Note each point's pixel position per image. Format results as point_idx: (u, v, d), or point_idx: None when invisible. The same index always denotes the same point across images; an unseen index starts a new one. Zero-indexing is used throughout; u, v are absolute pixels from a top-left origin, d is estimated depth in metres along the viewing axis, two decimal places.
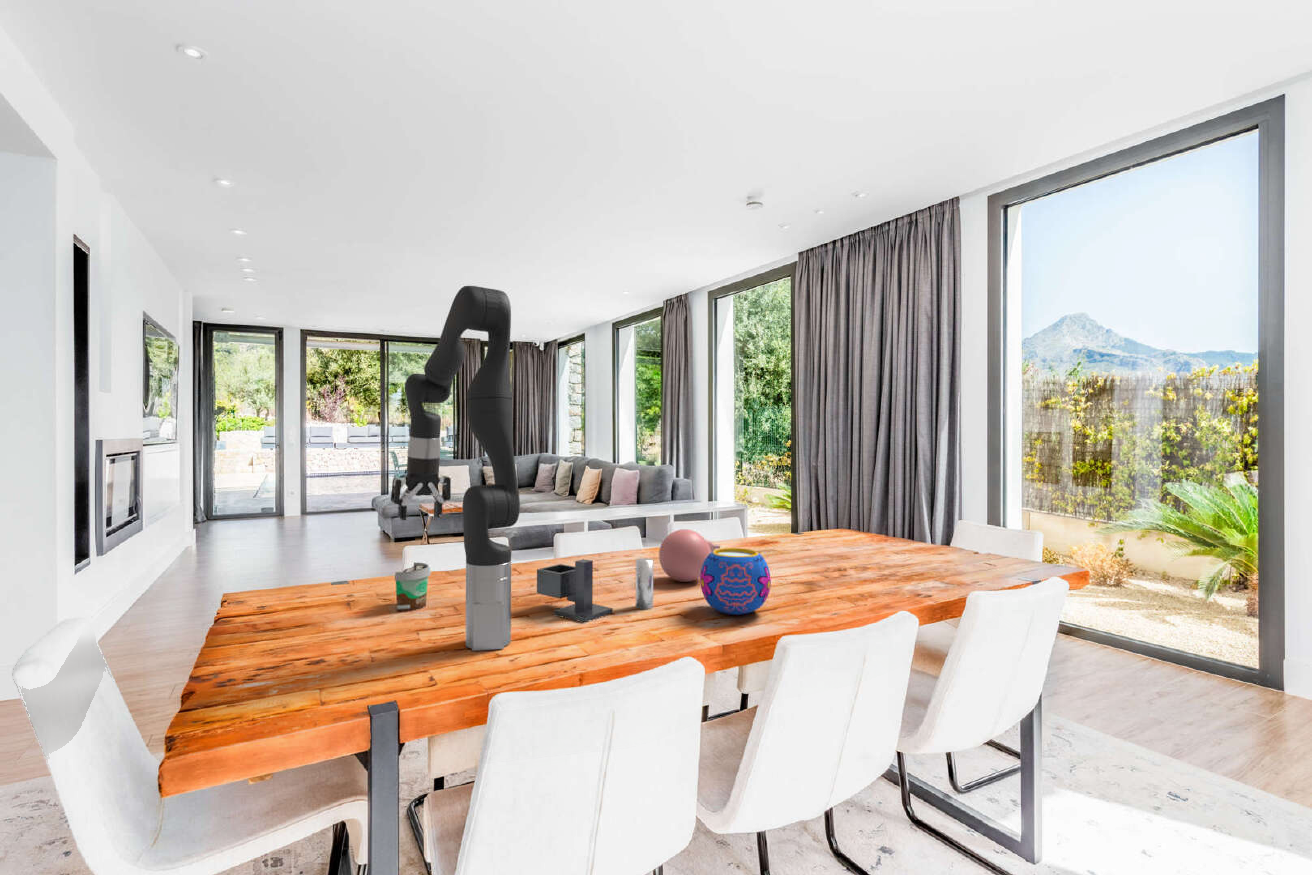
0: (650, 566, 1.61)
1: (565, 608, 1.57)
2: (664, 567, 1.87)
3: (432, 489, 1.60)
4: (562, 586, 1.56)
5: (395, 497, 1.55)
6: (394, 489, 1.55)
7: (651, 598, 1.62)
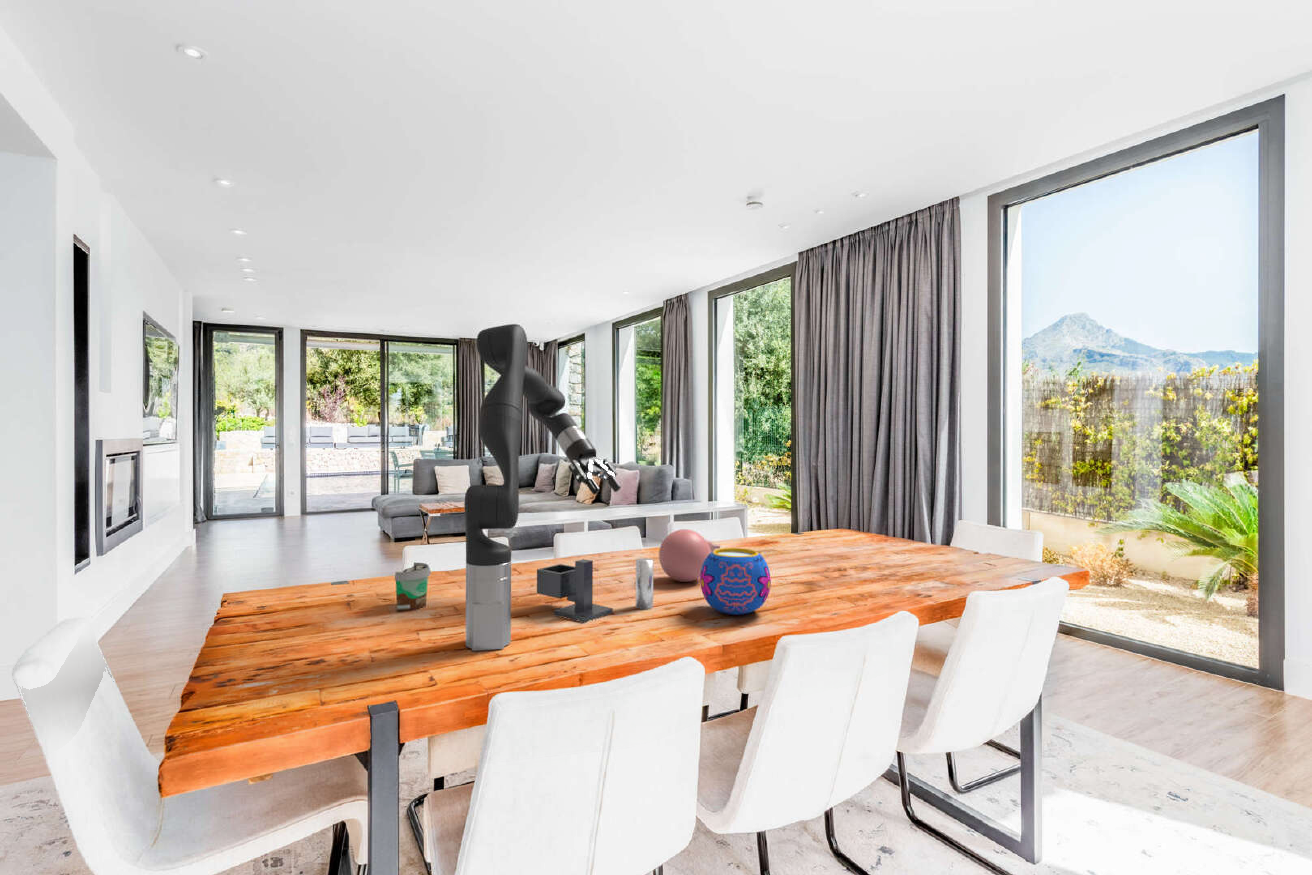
0: (650, 566, 1.61)
1: (565, 608, 1.57)
2: (664, 567, 1.87)
3: (601, 464, 1.74)
4: (562, 586, 1.56)
5: (580, 472, 1.66)
6: (575, 469, 1.67)
7: (651, 598, 1.62)
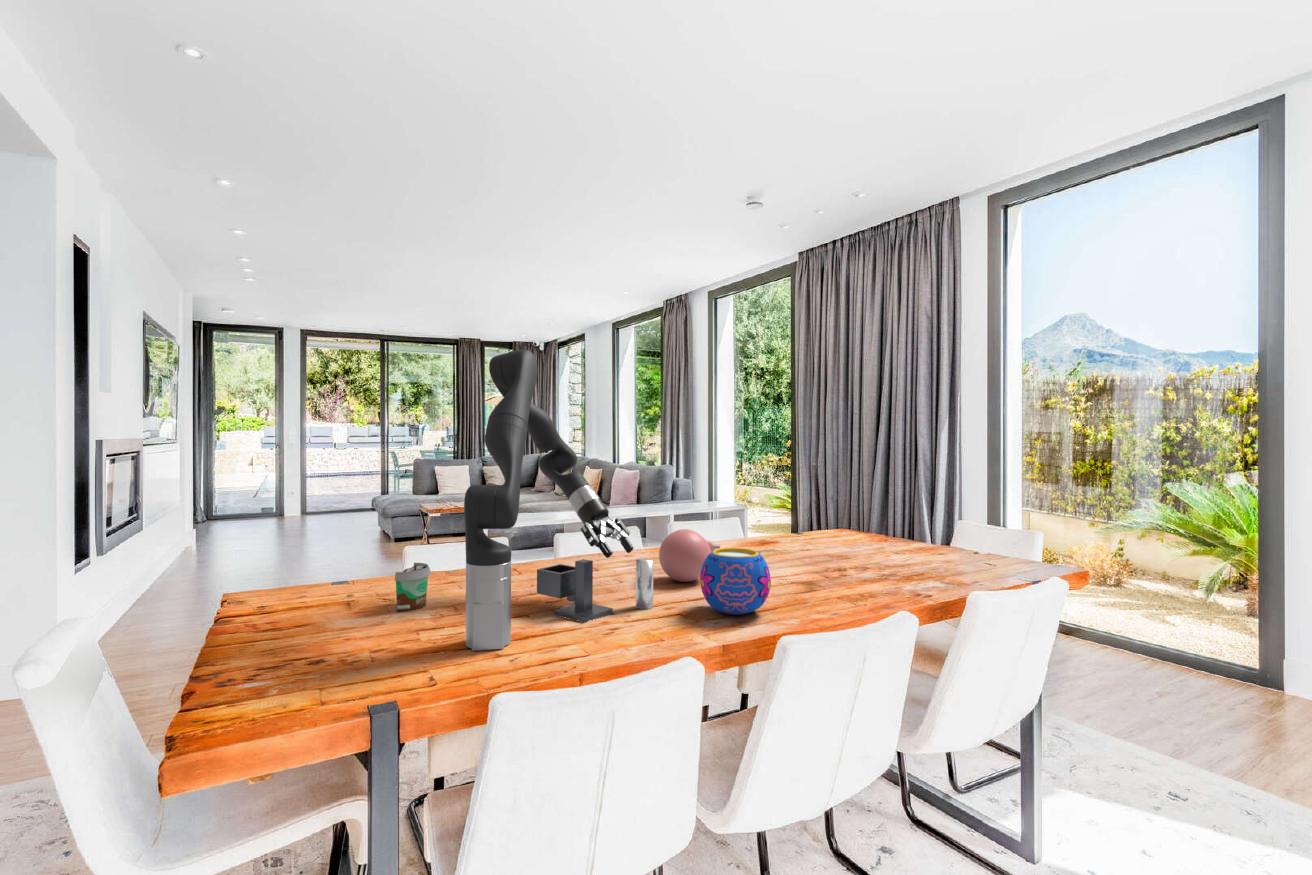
0: (650, 566, 1.61)
1: (565, 608, 1.57)
2: (664, 567, 1.87)
3: (613, 525, 1.72)
4: (562, 586, 1.56)
5: (593, 535, 1.64)
6: (588, 532, 1.65)
7: (651, 598, 1.62)
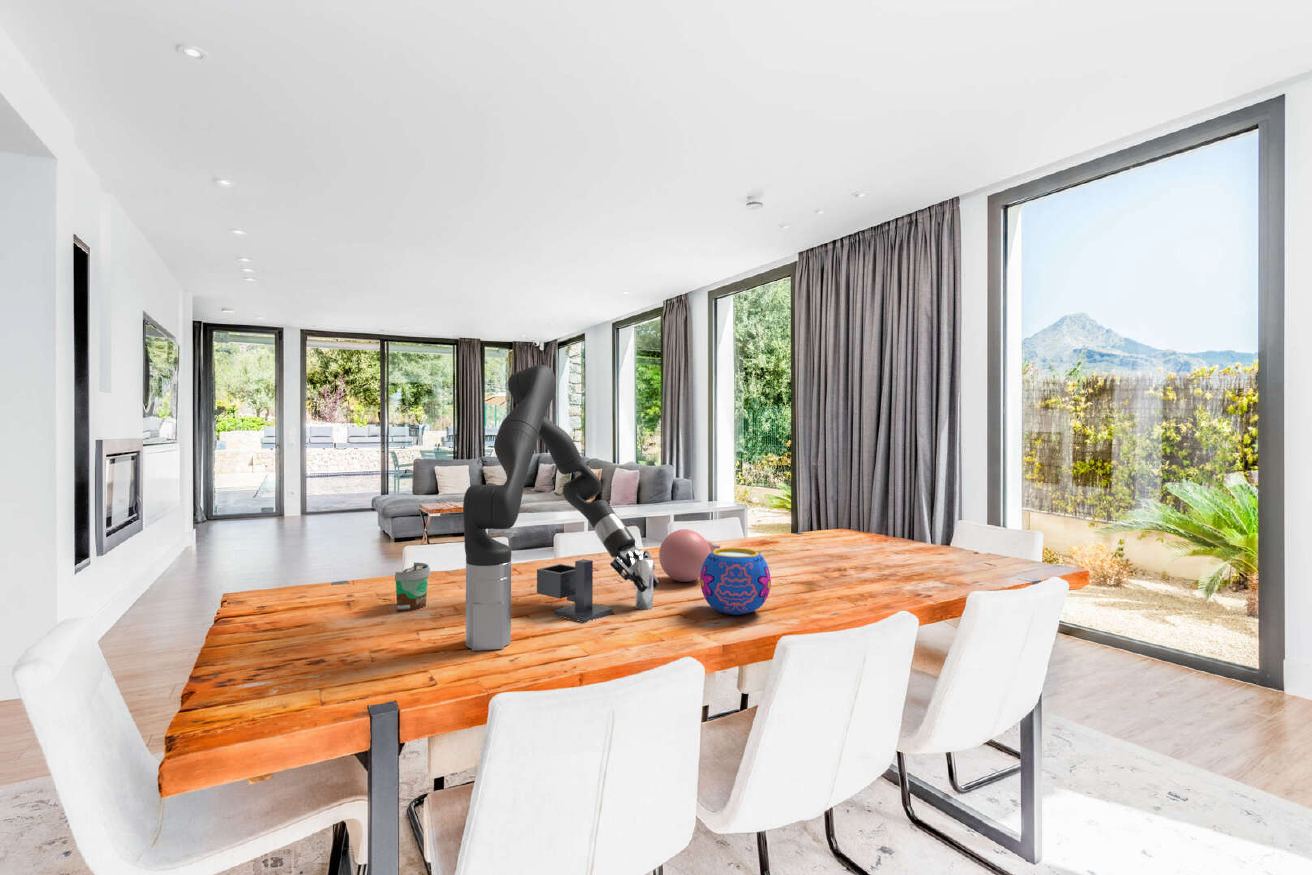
0: (650, 566, 1.61)
1: (565, 608, 1.57)
2: (664, 567, 1.87)
3: (639, 556, 1.66)
4: (562, 586, 1.56)
5: (627, 570, 1.59)
6: (620, 567, 1.60)
7: (651, 598, 1.62)
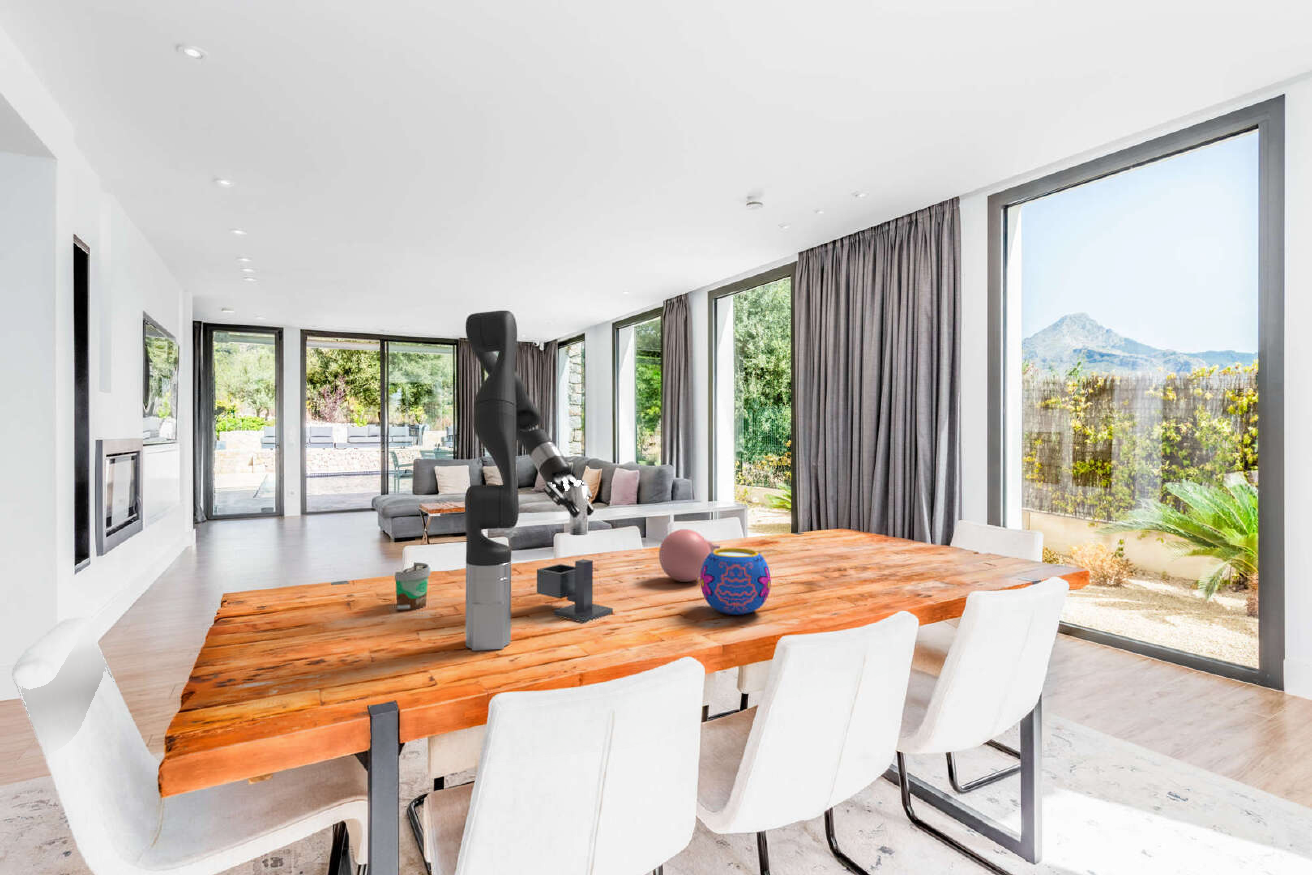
0: (584, 491, 1.59)
1: (565, 608, 1.57)
2: (664, 567, 1.87)
3: (575, 484, 1.64)
4: (562, 586, 1.56)
5: (559, 495, 1.57)
6: (552, 491, 1.58)
7: (585, 524, 1.60)
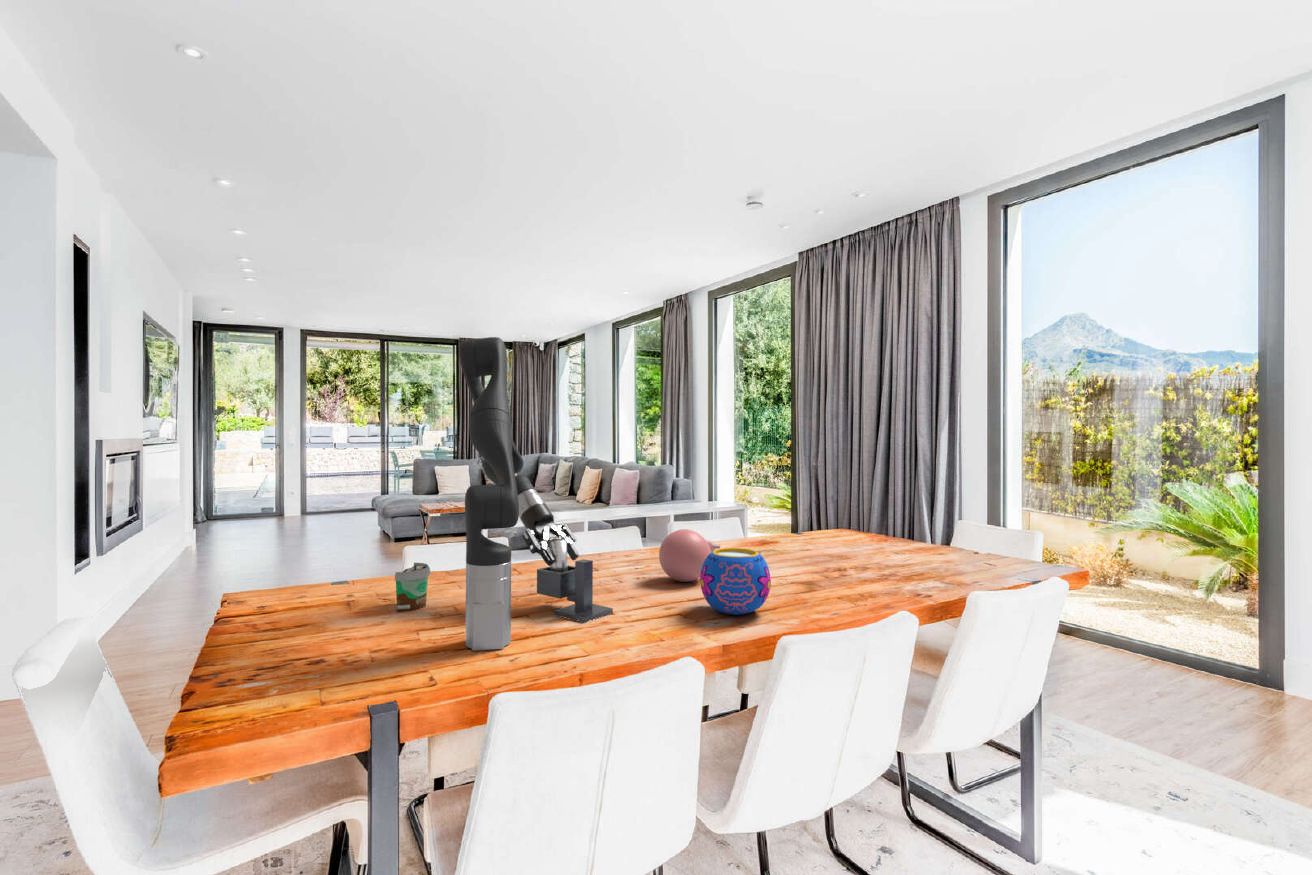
0: (563, 546, 1.59)
1: (565, 608, 1.57)
2: (664, 567, 1.87)
3: (558, 531, 1.64)
4: (562, 586, 1.56)
5: (534, 542, 1.57)
6: (529, 538, 1.58)
7: None
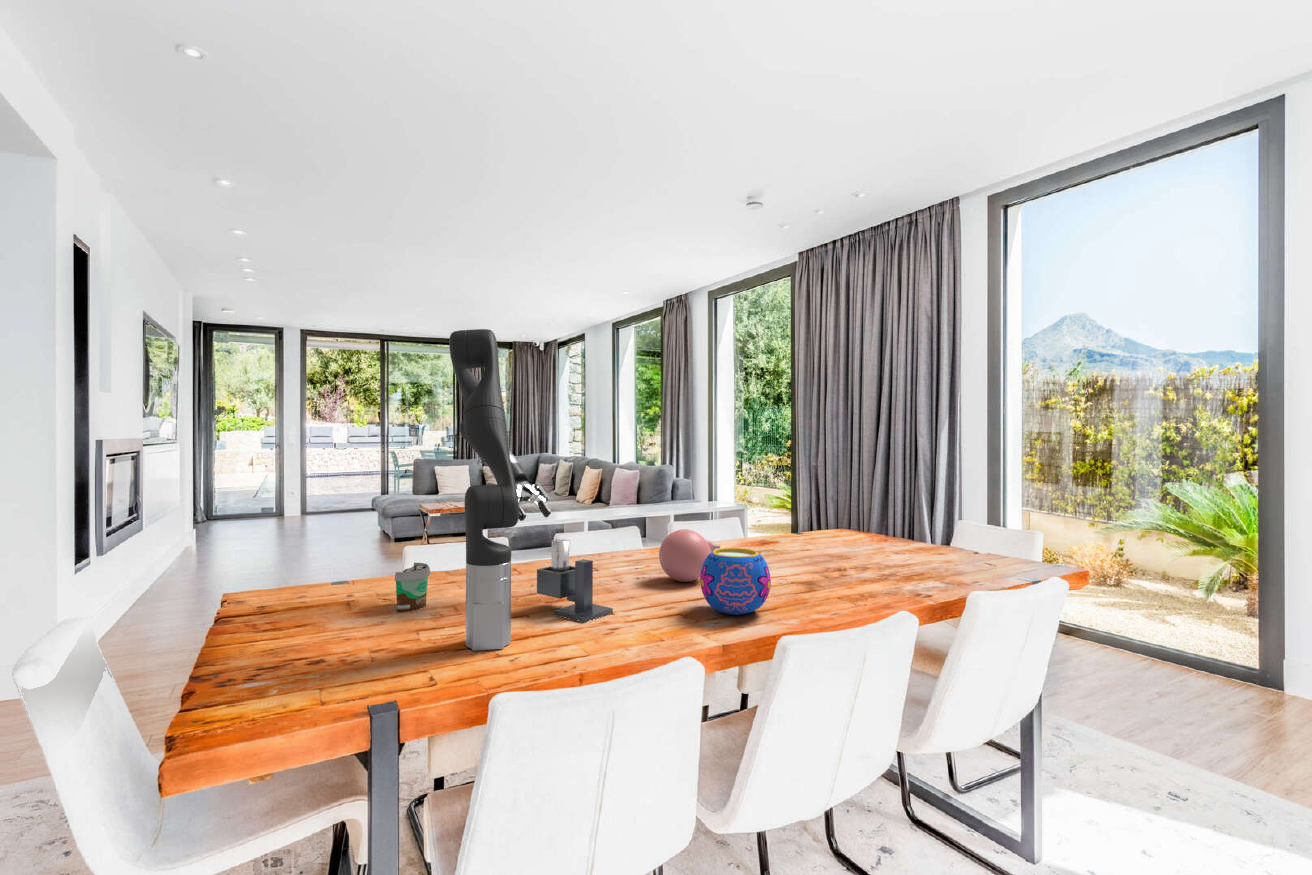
0: (565, 546, 1.59)
1: (565, 608, 1.57)
2: (664, 567, 1.87)
3: (531, 489, 1.70)
4: (562, 586, 1.56)
5: None
6: None
7: None
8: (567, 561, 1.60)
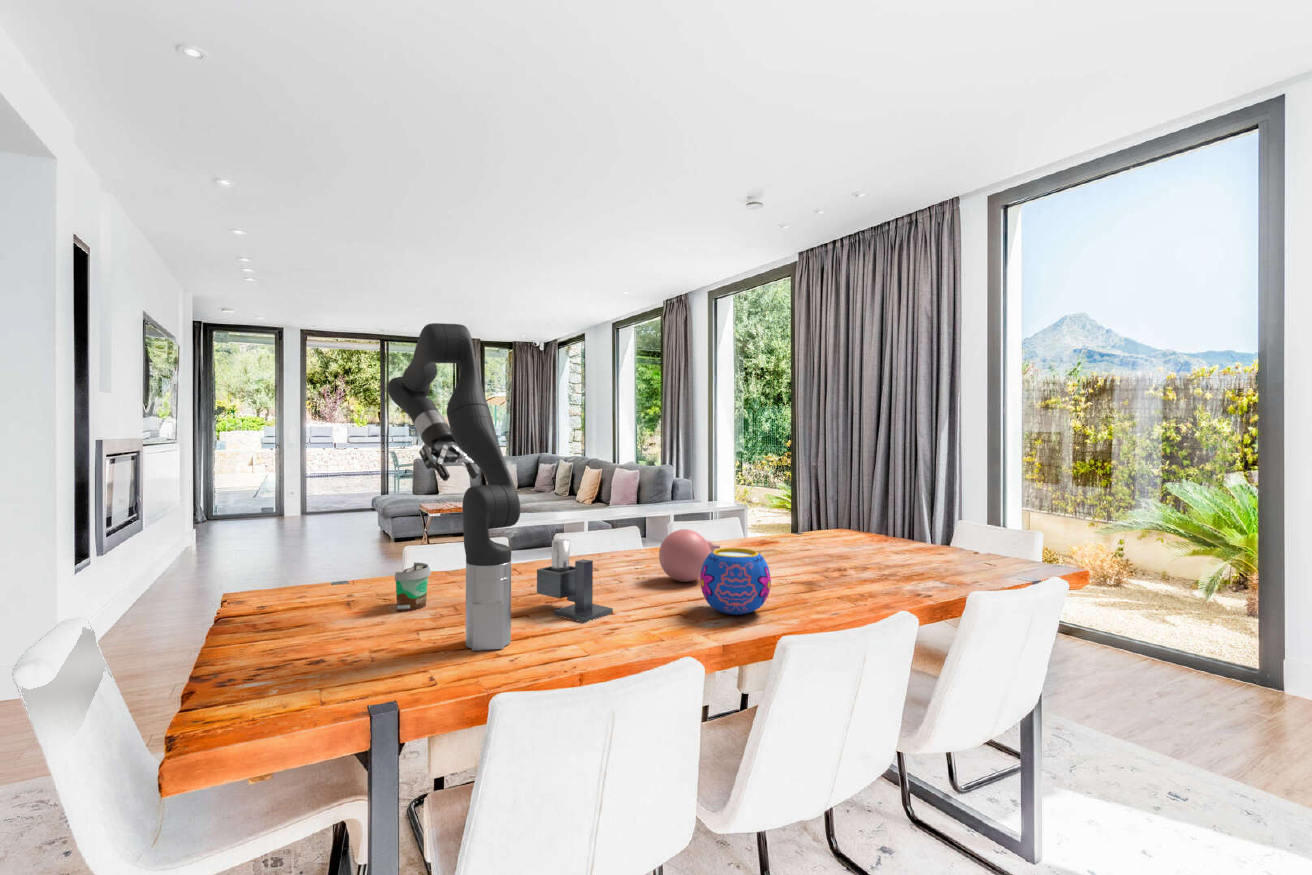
0: (565, 546, 1.59)
1: (565, 608, 1.57)
2: (664, 567, 1.87)
3: (458, 450, 1.65)
4: (562, 586, 1.56)
5: (429, 457, 1.57)
6: (425, 454, 1.58)
7: None
8: (567, 561, 1.60)
